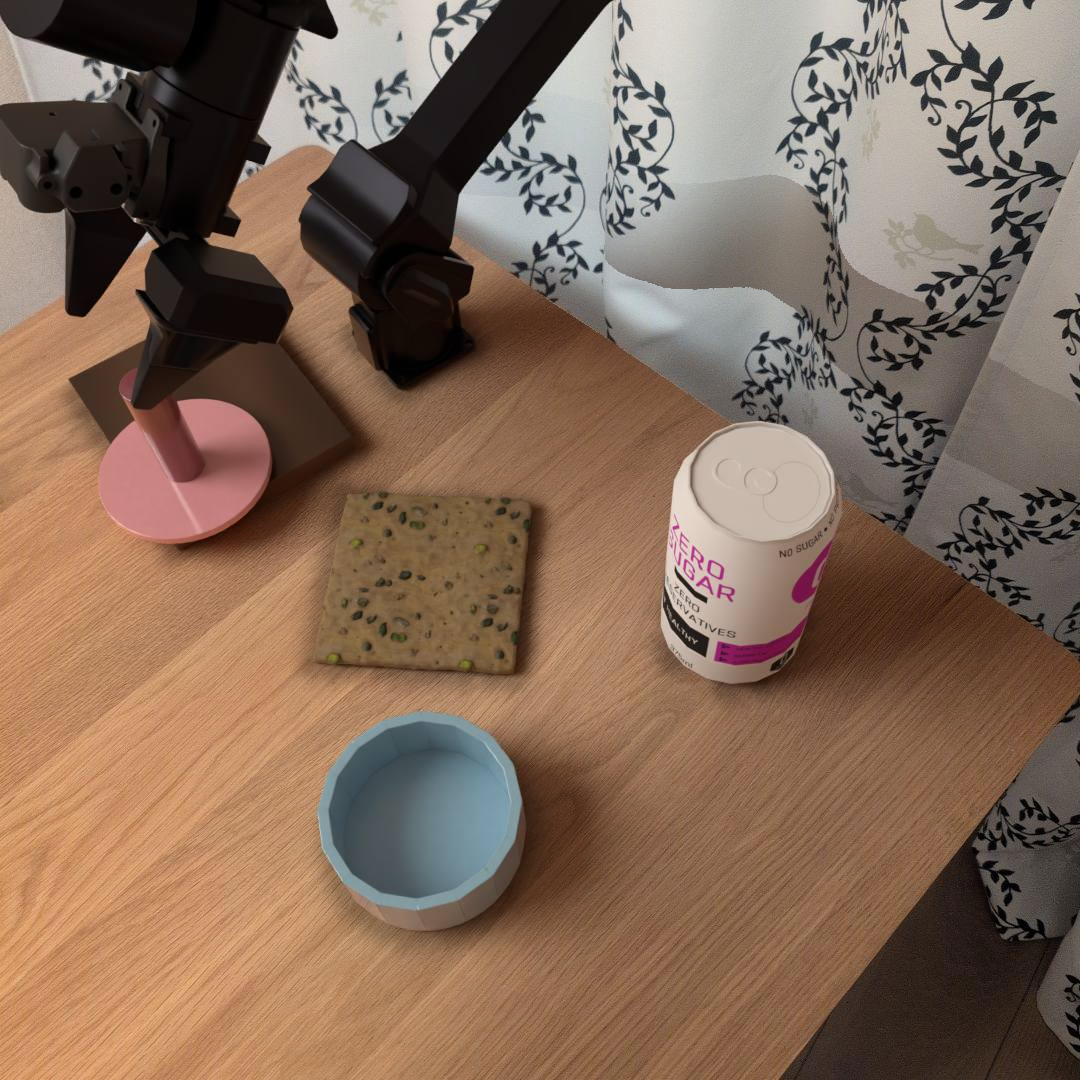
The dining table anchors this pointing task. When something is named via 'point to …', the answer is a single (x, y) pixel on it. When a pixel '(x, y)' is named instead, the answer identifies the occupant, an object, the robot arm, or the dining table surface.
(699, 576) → the supplement can
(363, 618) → the cookie
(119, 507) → the lid
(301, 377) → the board
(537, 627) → the dining table surface
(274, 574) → the dining table surface
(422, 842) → the bowl
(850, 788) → the dining table surface
